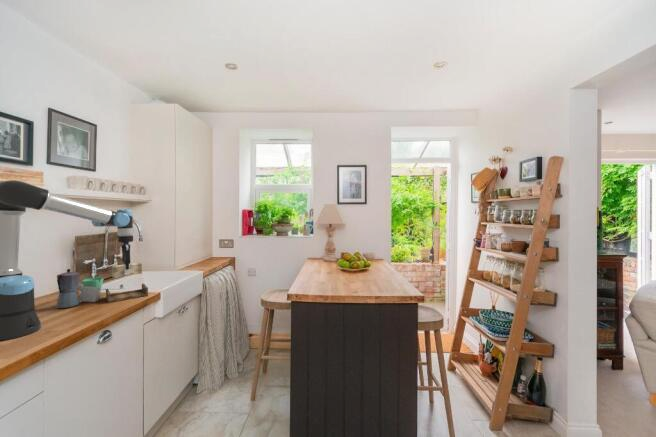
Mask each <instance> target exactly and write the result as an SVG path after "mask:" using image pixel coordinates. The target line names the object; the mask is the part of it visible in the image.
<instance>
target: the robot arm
mask: <svg viewBox="0 0 656 437" xmlns="http://www.w3.org/2000/svg"><path fill="white" fill-rule="evenodd" d="M27 209H33V210H36V211H37V210H38V211H41V210H47V211H51V212H54V213H59V214H63V215H66V216H67V215H68V216H71V217H75V218H76V217H77V218H80V219H84V220H88V221H91V224H92V226H93V227H94V228H95V227H99V228H100V227H101V228H102V227H117V229H116V230H117V231H116V232H117V233H116V234H117V235H118V236H117V243H122V245H121V252H122V253H121V254H122V255H121V257H122V260H121V261H122V265H124V275H128V276H131V275H130V264H131V245H130V243H132V242H134V236H133V234H134V232H135V229H134V228H133V227H134V224H133V223H134V222H133V218H134V215H133V210H132V209H117V210H116V211H115V210H110V209H106V208H103V207H100V206H97V205H94V204H89V203H87V202H86V203H85V202H83V201H79V200H75V199H72V198H69V197H64V196H62V195H58V194H55V193H51V192H50V190H48V189H46V188H42V187H39V186H36V185H35V184H34V185H33V184H30V183H28V182H25V181H22V180H14V179H13V180H11V179H10V180H5V181H4V180H3V181H0V341H1V342H2V341H6V340H8V341H9V340H11V339H17V338H21V337H25V336H28V335H30V334H33V333H36V332H38V331H39V330H41V328H42V322H41V320H40V319H39V316H38V314H37V312H36V308H35V307H36V306H35V282H34V278H33V277H32V276H30V275H23V271H22V270H21V269H19V253H20V252H19V251H20V250H19V249H20V233H21V232H20V231H21V217H22V215H24V214H26V212H27V211H26V210H27Z"/></svg>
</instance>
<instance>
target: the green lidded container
mask: <svg viewBox="0 0 656 437" xmlns="http://www.w3.org/2000/svg"><path fill="white" fill-rule="evenodd" d="M81 281H82V285H83V287H100V286H101V288H102V287H103V283H104V277H100V276H98V277H89V278H84V279H82V280H81ZM98 291H99V289H98Z"/></svg>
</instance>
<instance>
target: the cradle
mask: <svg viewBox="0 0 656 437" xmlns="http://www.w3.org/2000/svg"><path fill="white" fill-rule="evenodd" d="M142 297H143V298H144V297H149V287H148V286H147V285H146V284H145V283H143V282H142V283H141V288H140V289H134V290H128V291H121V292H115V293H111V291H110V290H109V288H105V298H106V300H107V303H109V304H111V303H116V302H120V301H126V300H132V299H137V298H138V299H139V298H142Z"/></svg>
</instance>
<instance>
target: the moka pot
mask: <svg viewBox="0 0 656 437" xmlns="http://www.w3.org/2000/svg"><path fill="white" fill-rule="evenodd" d="M79 280H80V272H74V271H73V272H71V268H68V269H66V272H63V273H59V274H57V275H56V281H57V285H58V286H57V287H58V290H59V294H58V298H57V303H56V308H57V309H64V308H71V307H72V308H73V307H76V306H79V305H80V303H79V300H78V297H79V295H78V290H77V288H78V284H79Z"/></svg>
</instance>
